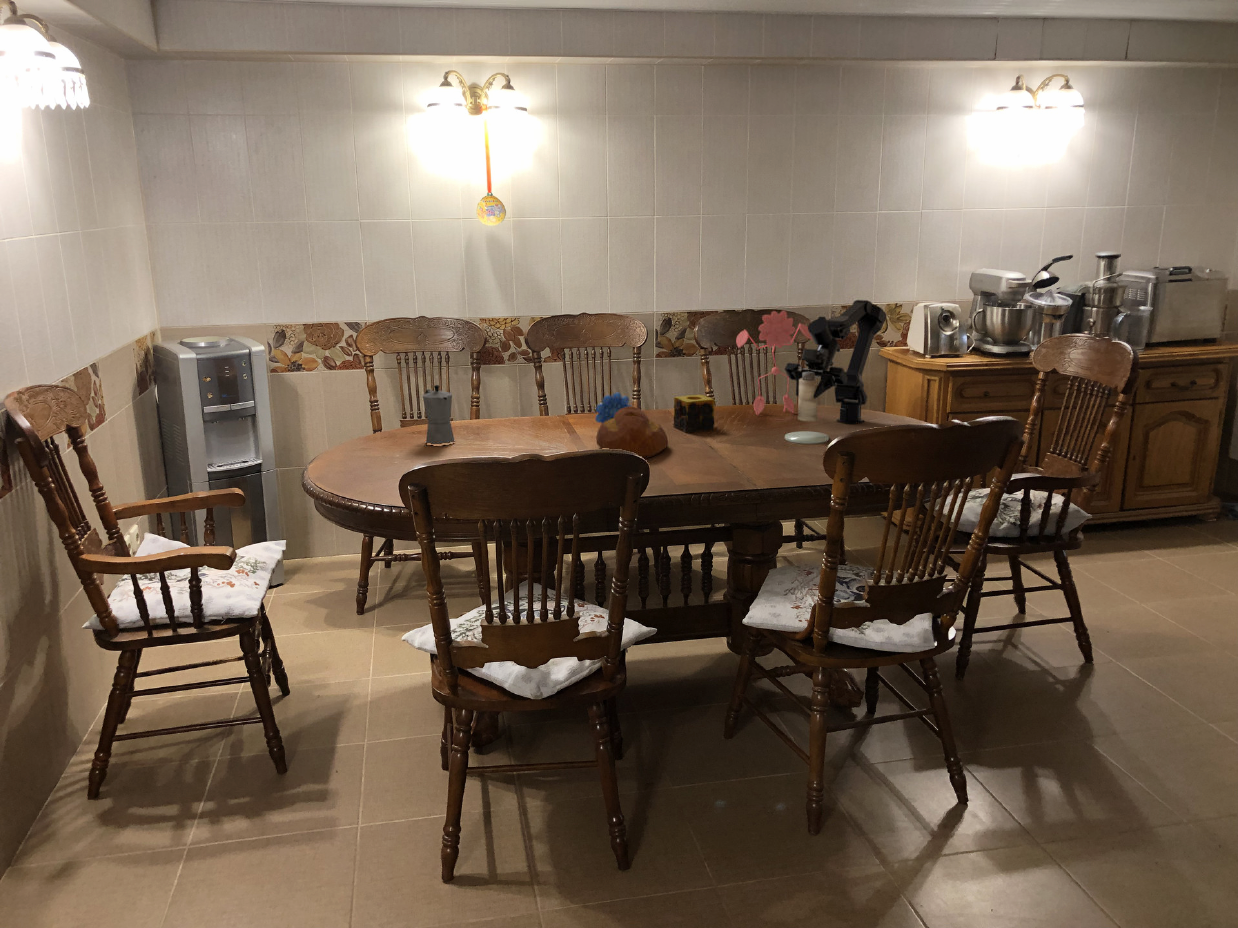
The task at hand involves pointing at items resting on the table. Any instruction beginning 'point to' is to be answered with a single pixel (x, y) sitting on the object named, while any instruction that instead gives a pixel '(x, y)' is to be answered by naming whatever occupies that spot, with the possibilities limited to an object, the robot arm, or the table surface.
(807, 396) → the pepper mill
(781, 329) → the figurine
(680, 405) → the black and yellow cube
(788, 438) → the pale green coaster
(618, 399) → the grapes
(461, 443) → the table surface
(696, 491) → the table surface
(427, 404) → the coffeepot
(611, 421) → the bread
